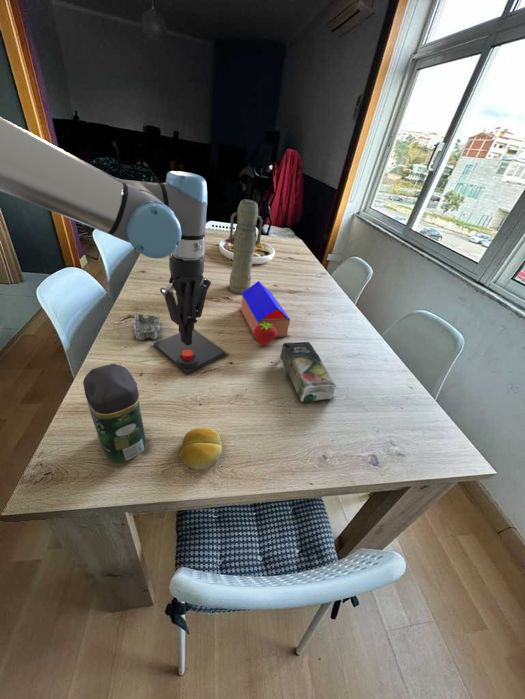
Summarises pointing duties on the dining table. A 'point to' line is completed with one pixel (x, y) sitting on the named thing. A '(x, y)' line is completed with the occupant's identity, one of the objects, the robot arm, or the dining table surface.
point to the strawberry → (265, 333)
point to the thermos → (244, 244)
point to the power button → (187, 355)
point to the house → (263, 309)
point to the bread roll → (201, 448)
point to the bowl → (260, 254)
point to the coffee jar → (115, 411)
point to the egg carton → (146, 326)
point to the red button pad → (200, 347)
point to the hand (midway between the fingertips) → (186, 342)
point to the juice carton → (307, 372)
